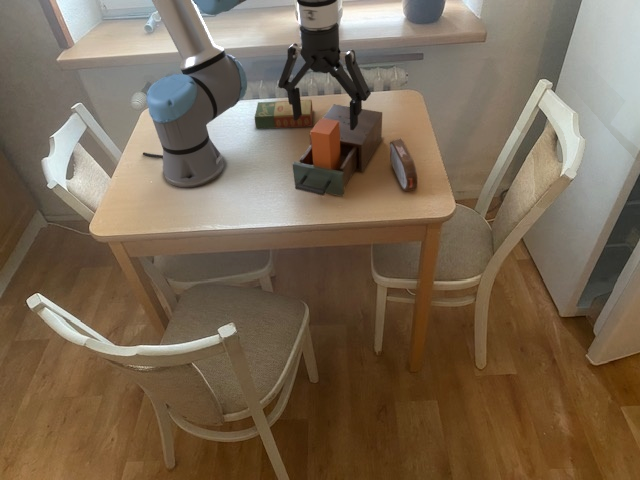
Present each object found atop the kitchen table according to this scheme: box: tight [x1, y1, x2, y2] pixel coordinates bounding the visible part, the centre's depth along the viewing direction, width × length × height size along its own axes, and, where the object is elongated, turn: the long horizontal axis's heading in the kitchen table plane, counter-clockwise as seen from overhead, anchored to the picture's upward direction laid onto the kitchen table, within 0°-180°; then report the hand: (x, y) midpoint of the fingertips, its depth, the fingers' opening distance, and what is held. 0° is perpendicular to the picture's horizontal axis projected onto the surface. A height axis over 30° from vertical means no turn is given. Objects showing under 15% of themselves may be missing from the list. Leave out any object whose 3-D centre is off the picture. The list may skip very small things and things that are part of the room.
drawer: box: [292, 144, 359, 197], centre depth 113 cm, size 19×12×6 cm, turn 156°
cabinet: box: [309, 104, 383, 173], centre depth 122 cm, size 16×14×8 cm
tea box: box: [310, 117, 341, 171], centre depth 111 cm, size 6×4×13 cm
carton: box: [254, 99, 314, 130], centre depth 136 cm, size 8×16×4 cm, turn 88°
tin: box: [389, 138, 418, 192], centre depth 112 cm, size 15×3×8 cm, turn 9°
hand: (325, 122), depth 105 cm, fingers open, 13 cm apart
